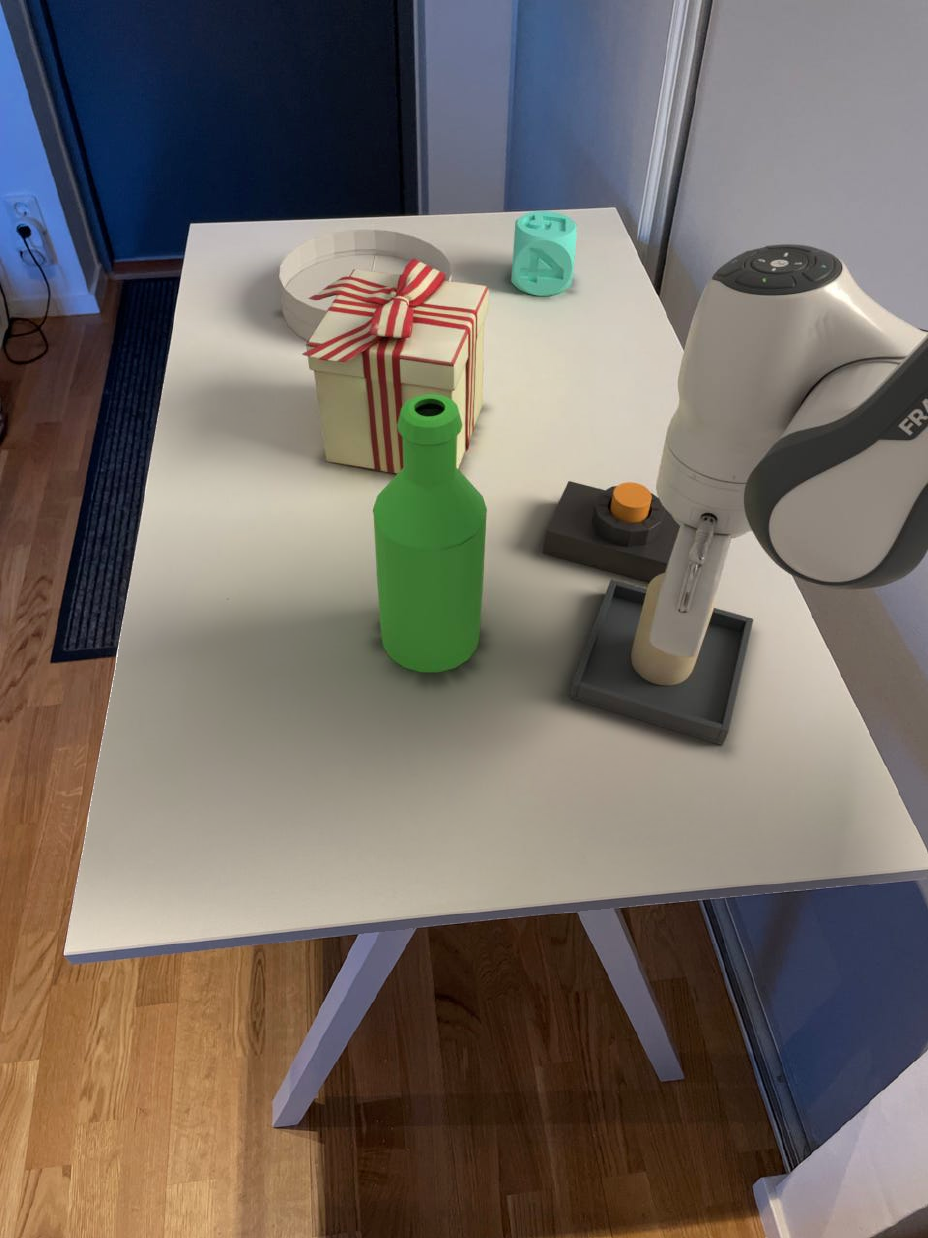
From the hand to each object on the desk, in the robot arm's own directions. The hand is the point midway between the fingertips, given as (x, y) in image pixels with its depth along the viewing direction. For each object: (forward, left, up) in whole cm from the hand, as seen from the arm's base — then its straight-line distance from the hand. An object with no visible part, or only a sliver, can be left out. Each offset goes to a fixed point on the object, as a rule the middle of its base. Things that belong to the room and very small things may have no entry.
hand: (685, 607), depth 76 cm
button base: (+8, -13, -8) cm, 17 cm away
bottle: (+21, +5, -8) cm, 23 cm away
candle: (+1, 0, -7) cm, 7 cm away
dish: (+50, -45, -8) cm, 67 cm away
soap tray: (+1, 0, -8) cm, 8 cm away
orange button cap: (+8, -13, -3) cm, 16 cm away
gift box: (+36, -21, -8) cm, 42 cm away
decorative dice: (+31, -60, -8) cm, 68 cm away
